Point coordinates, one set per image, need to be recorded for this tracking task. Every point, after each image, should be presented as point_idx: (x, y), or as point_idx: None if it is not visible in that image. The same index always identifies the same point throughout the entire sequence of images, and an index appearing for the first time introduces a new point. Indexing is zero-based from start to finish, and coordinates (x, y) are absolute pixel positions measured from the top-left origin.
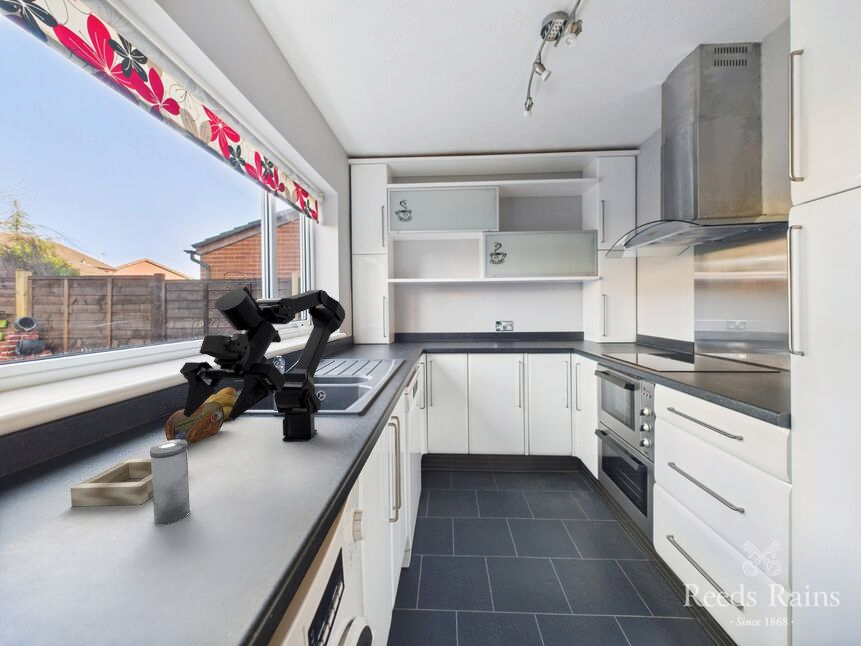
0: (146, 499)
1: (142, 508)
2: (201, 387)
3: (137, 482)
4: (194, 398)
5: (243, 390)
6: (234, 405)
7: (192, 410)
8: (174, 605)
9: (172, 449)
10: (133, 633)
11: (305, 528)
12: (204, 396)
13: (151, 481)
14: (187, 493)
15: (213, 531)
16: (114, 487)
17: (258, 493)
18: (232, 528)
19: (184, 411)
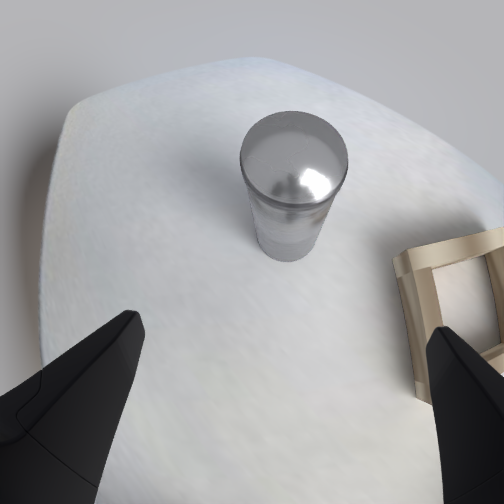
0: (396, 273)
1: (375, 248)
2: (501, 492)
3: (430, 264)
4: (476, 410)
5: (21, 411)
6: (98, 348)
7: (436, 374)
8: (135, 103)
9: (250, 129)
10: (151, 79)
11: (48, 237)
12: (458, 484)
13: (413, 285)
14: (255, 227)
15: (169, 204)
16: (452, 239)
17: (164, 337)
18: (143, 217)
19: (452, 333)
